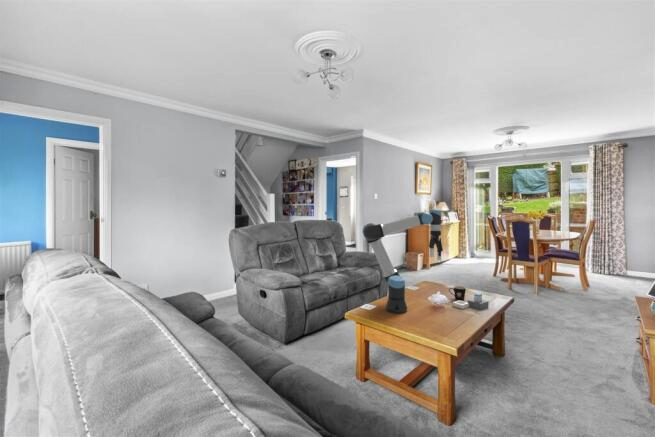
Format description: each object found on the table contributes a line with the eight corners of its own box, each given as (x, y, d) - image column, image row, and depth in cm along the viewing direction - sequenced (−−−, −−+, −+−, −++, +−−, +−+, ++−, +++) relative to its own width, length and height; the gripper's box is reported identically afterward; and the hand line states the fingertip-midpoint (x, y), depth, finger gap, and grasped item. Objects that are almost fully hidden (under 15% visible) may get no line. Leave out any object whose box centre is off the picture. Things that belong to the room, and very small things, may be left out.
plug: (474, 307, 228) (474, 293, 228) (477, 306, 230) (477, 292, 230) (478, 308, 225) (479, 295, 225) (481, 307, 227) (481, 294, 227)
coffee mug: (467, 300, 244) (468, 287, 243) (461, 302, 239) (461, 289, 238) (454, 296, 253) (454, 284, 253) (447, 298, 248) (448, 286, 248)
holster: (452, 306, 229) (452, 302, 229) (459, 304, 234) (459, 300, 234) (462, 310, 223) (462, 305, 223) (469, 307, 227) (469, 303, 227)
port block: (467, 306, 229) (467, 299, 229) (475, 304, 235) (475, 297, 234) (480, 310, 221) (480, 303, 221) (488, 308, 226) (488, 301, 226)
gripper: (448, 231, 220) (447, 261, 221) (434, 228, 245) (433, 255, 246) (437, 232, 219) (437, 262, 221) (424, 228, 244) (424, 255, 245)
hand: (435, 258), depth 233 cm, fingers open, 13 cm apart
